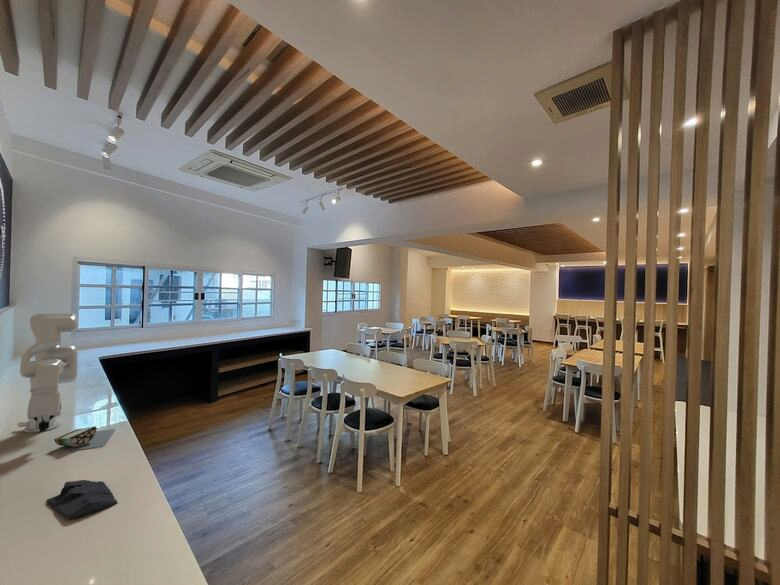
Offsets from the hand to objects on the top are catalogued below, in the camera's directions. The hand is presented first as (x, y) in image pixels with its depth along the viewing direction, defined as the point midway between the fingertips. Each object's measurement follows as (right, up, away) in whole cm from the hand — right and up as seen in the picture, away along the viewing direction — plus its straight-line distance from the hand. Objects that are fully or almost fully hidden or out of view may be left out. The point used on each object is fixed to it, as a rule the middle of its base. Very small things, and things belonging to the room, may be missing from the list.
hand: (43, 430), depth 149 cm
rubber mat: (+15, -8, +8) cm, 19 cm away
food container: (+8, -6, +3) cm, 10 cm away
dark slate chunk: (+54, -9, -38) cm, 66 cm away
